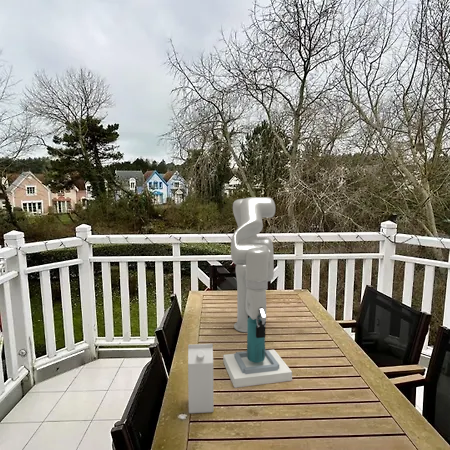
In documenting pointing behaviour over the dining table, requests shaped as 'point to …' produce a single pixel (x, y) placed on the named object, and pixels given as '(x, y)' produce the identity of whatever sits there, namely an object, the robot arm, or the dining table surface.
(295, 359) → the dining table surface
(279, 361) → the display stand
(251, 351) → the beverage bottle
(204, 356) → the milk carton
